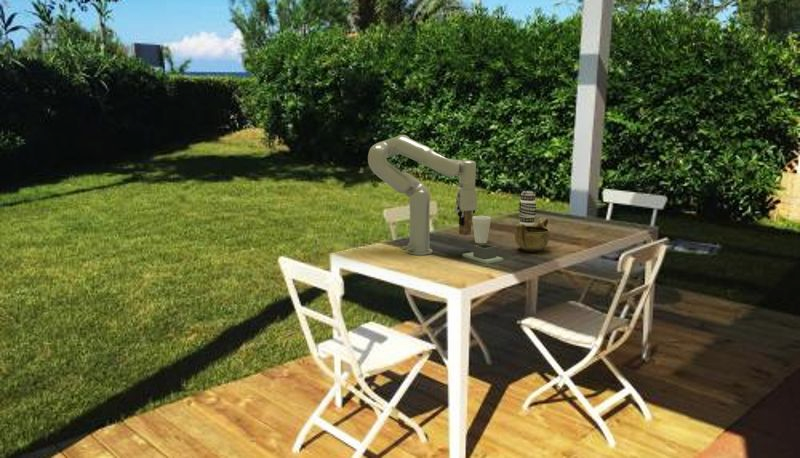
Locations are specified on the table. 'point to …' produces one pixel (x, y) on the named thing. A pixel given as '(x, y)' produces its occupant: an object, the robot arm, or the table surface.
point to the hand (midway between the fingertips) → (465, 224)
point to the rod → (466, 224)
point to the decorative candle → (527, 208)
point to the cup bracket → (484, 254)
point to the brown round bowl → (532, 236)
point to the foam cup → (481, 228)
